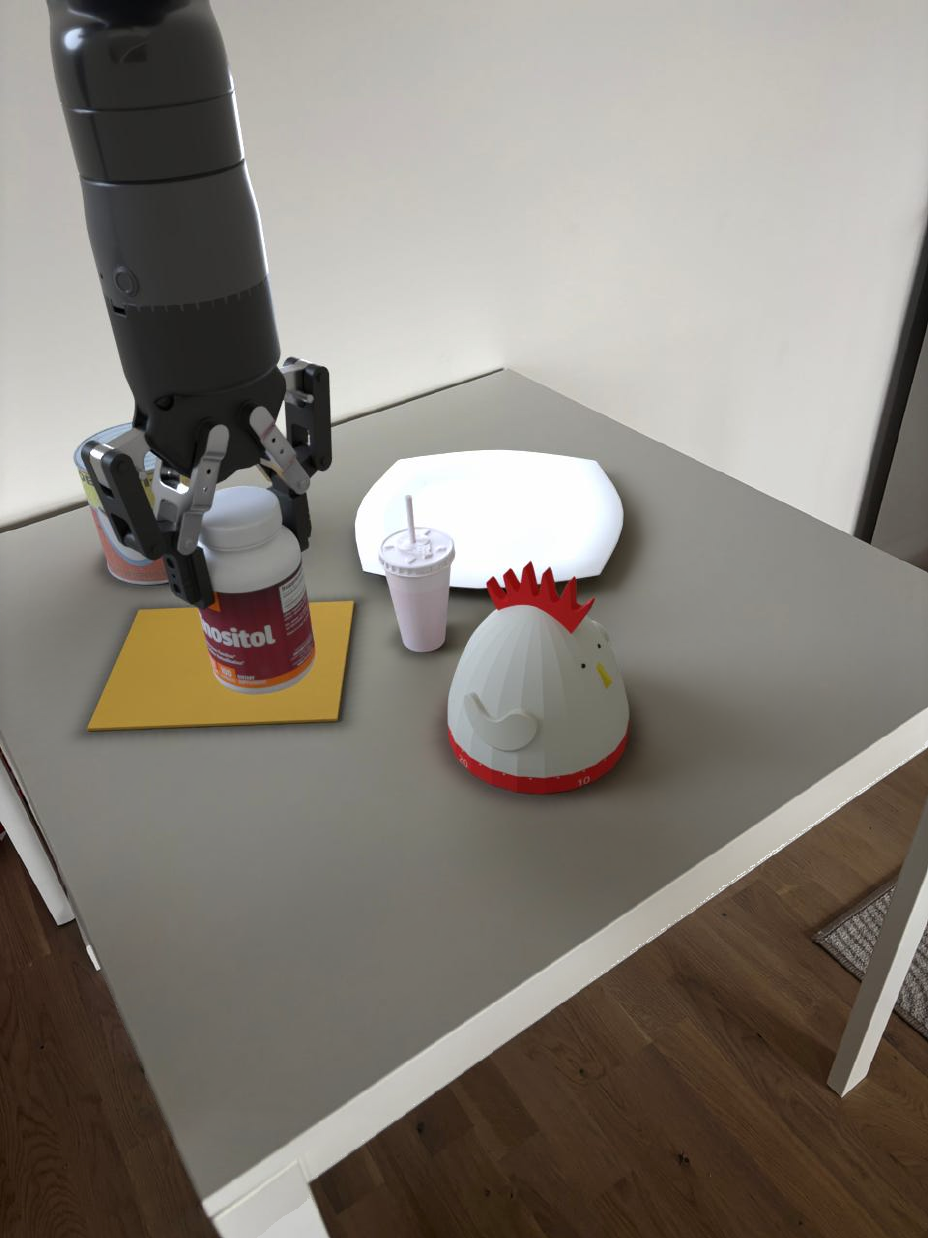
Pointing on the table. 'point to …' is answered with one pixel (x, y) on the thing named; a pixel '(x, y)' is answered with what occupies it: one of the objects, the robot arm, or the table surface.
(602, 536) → the plate
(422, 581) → the smoothie
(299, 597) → the pill bottle
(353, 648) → the table surface
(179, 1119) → the table surface
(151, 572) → the canned food
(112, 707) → the cloth
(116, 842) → the table surface
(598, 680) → the kitchen timer
